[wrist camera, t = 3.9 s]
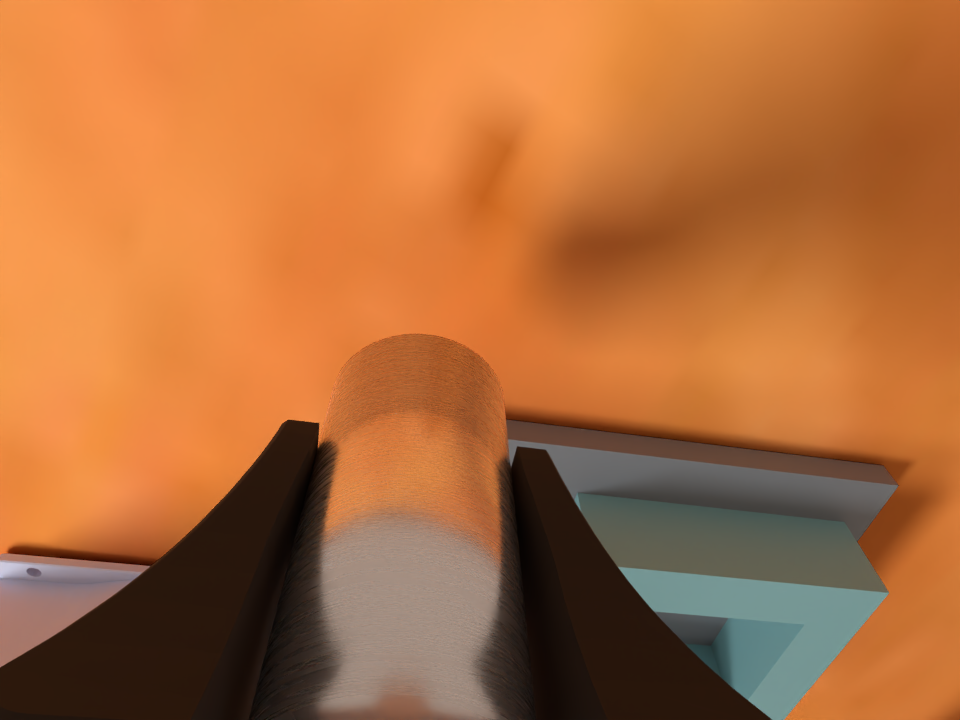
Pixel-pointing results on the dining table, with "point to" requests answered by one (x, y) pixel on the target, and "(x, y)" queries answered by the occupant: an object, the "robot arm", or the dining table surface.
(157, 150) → the dining table surface
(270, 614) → the robot arm
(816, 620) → the block
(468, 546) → the pin
